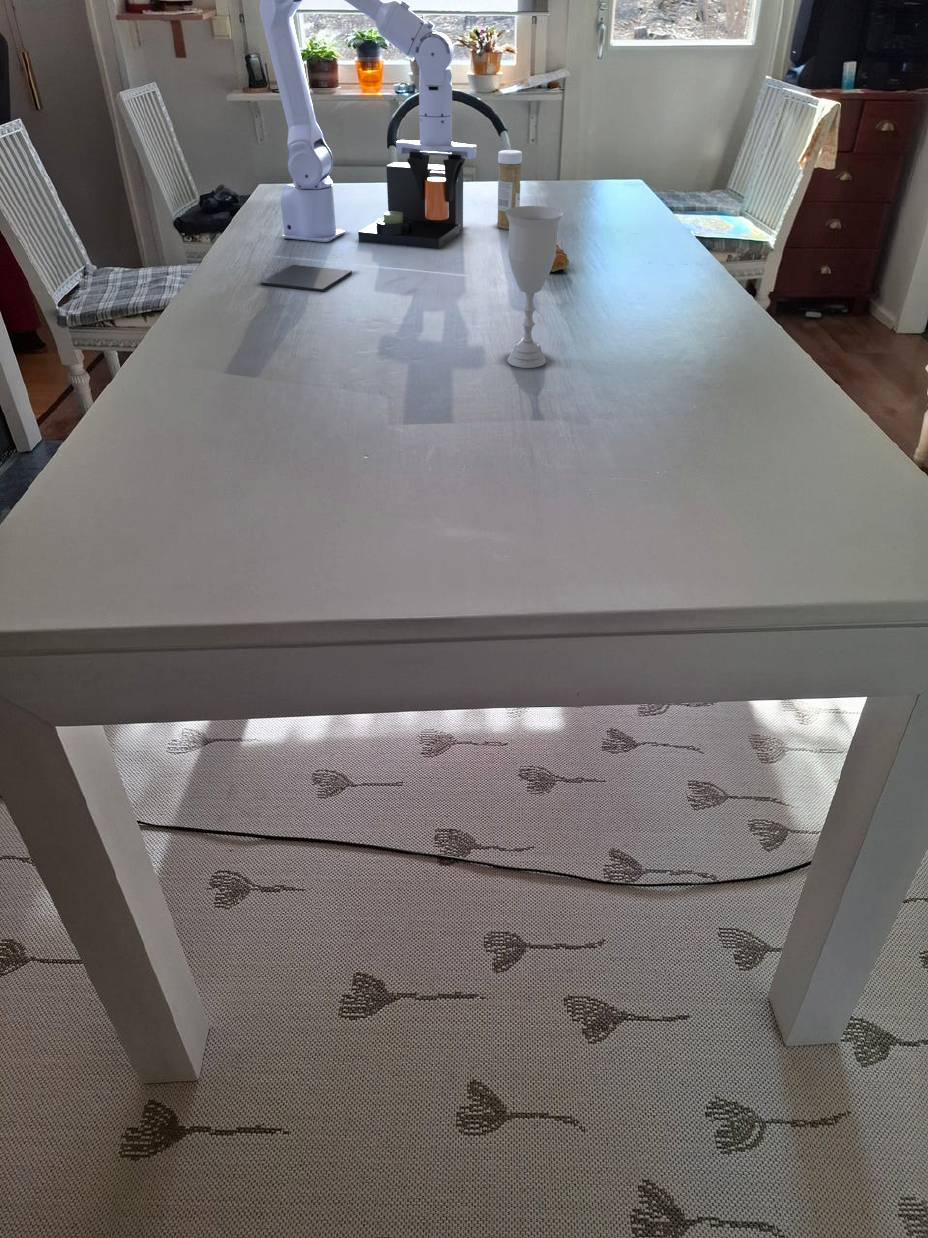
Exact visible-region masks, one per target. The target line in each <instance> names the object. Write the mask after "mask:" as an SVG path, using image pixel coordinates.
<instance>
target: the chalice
mask: <svg viewBox="0 0 928 1238" xmlns="http://www.w3.org/2000/svg"><path fill="white" fill-rule="evenodd" d="M506 216H507V218H508V221H509V229H508V247H507V248H508V249H507V250H508V251H507V253H508V254H507V257H508V260H509V264H510V268H511V272H512V274H513V277H514V279H515V282H516V284H517V287H518V289H519V291H520V292H522V293H523V294H525V299H526V300H525V303H524V306H523V308H522V310H523V312H524V315H525V317H524V320H523V321H522V322H521V325H522V326H523V329H524V334H523V337H522V338H521V340H518V341H516V342H515V343H514V345H513V346H512V349H511V351H510V355H509V357H508V358H507V363H508V364H509V365H511V366H514V367H516V368H522V369H531V368H533V369H534V368H539V367H542V366H544V365H545V364H546V362H547V360H546V358H545V356H544V352H543V350H542V346H541V344H540V343H539V342H538V341H536V340H535V339H534V338H533V336H532V332H533V328H534V326H535V325H536V322H535V321H534V319H533V316H534V315H533V314H534V312H535V311H536V307H535V303H534V297H535V294H537V293H539V292H541V291H542V289H543V287H544V285H545V283H546V281H547V279H548V277H549V275H550V273H551V272H552V271H551V268H552V265H553V263H554V260H555V257H556V244H557V241H558V227H559V225H558V224H559V223H560V221H561V218H562V216H563V211H562V210H560V209H557V208H554V207H550V206H549V207H548V206H540V205H523V206H522V205H520V207H514V208H510V209H508V210H506Z"/></svg>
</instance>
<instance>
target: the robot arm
mask: <svg viewBox="0 0 928 1238" xmlns="http://www.w3.org/2000/svg"><path fill="white" fill-rule="evenodd" d="M259 1H260V2H259V6H258V7H259V15H260V19H261V23H262V27H263V32H264V34H265V40H266V44H267V47H268V52H269V55H270V60H271V64H272V67H273V71H274V76H275V79H276V84H277V87H278V93H279V96H280V100H281V104H282V108H283V112H284V117H285V120H286V124H287V128H288V131H287V143H286V144H287V149H288V161H287V170H288V173H289V175H290V177H291V180H292V183H287V184H285V185H284V186H283V187H282V190H281V192H280V193H281V194H280V195H281V196H280V207H281V216H282V217H281V218H282V226H283V234H282V238H283V239H289V240H300V241H310V242H320V243H321V242H322V243H328V242H331V241H333V240H334V239H337V238H338V237H339V236H341V235H343V234H345V233H346V231H345V230H344V229H337V225H336V224H337V223H336V212H335V198H334V197H335V196H334V186H333V183H334V182H333V180H332V179H331V177H330V173H331V172H332V170H333V168H334V156H333V153H332V151H331V149H330V148H329V146H328V145H327V143H326V141H325V138H324V134H323V131H322V130H321V128H320V126H319V124H318V123H317V119H316V115H315V110H314V107H313V102H312V98H311V93H310V89H309V85H308V84H309V83H308V80H307V75H306V71H305V67H304V63H303V59H302V54H301V50H300V45H299V40H298V37H297V32H296V28H295V24H294V15H295V14H296V12H297V10H298V9H299V7H300V5H301V3H302V2H303V0H259ZM344 2H346V3H348V4H349V5H350V6H353V7H354V8H355V9H356V10H357V11H360V12H361V13H362V14H364V15H365V16H367V17H368V18H369V19H371V20H372V21H374V22H375V25H376V28H377V29H376V30H377V33H378V35H379V36H380V37H381V38H382V39H383V40H385V41H387V43H389V44H391V45H392V46H394V47H395V48H396V49H398V50H399V51H400V52H402V54H404V55H406V56H407V57H408V58H410V59H412V58H414V59H415V62H416V64H417V67H418V68H419V84H418V109H419V110H418V111H419V112H418V113H419V114H418V115H419V116H418V117H419V140H408V139H407V140H405V139H400V140H397V141H395V142H396V143H395V144H396V145H395V146H396V148H395V149H396V151H395V152H396V154H397V155H403V154H407V155H409V156H408V158H407V159H406V160H407V161H406V162H407V163H408V164H409V166H410V168H411V170H412V172H413V174H414V177H415V179H416V182H417V186H418V189H419V194H420V199H421V200H425V183H424V180H425V179H426V178H428V164H430V157H431V156H435V157H436V156H437V157H447V158H444V159H443V160H442V161H443V165H444V169H445V179H446V192H445V197H446V202H450V201H452V200H453V196H454V190H455V186H456V182H457V179H458V176H459V173H460V171H461V168H462V167H464V165H465V161H466V159H468V160H473V159H476V158H477V145H476V144H470V143H469V144H468V143H461V142H454V141H453V84H452V77H453V76H452V75H453V73H452V67H451V64H452V63H453V59H454V53H455V51H454V45H453V43H452V40H451V39H450V37H449V36H448V35H446V33H445V31H444V30H441V29H434V28H435V23H434V22H432V21H430V20H429V21H428V22H427V21H425V20H424V19H423V18H421V16H419V15H417V14H416V13H414V11H412V10H411V9H410V7H411V4H410V3H409V2H407V1H406V0H402V1H401V2H400V1H399V0H387V1H384V0H344Z"/></svg>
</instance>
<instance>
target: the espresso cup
mask: <svg viewBox="0 0 928 1238" xmlns="http://www.w3.org/2000/svg"><path fill="white" fill-rule="evenodd" d="M424 183H425V218H426V219H429V220H445V219H448V218H449V202H446V197H445V192H446V179H445V178H442V177H430V178H426V179H425V180H424Z"/></svg>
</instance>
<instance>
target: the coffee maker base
mask: <svg viewBox="0 0 928 1238" xmlns="http://www.w3.org/2000/svg"><path fill="white" fill-rule="evenodd" d="M357 235H358V242H359V243H366V244H367V243H369V244H378V245H387V246H399V247H410V248H420V249H431V250H440V249H442V248H444V247H445V245H447V244H448V243H450V242H451V241H453V240H454V239H456V238H457V237H458V236H460V235H461V230H460V224H448V223H436V222H425V221H413V220H410V219H407V218H403V223H398V224H389V223H384V217H381V218H378V219H376V220H375V222H373V223H371V224H369V225H367V226H366V227H365V228H362V229H360V230H359V231H358V234H357Z"/></svg>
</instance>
